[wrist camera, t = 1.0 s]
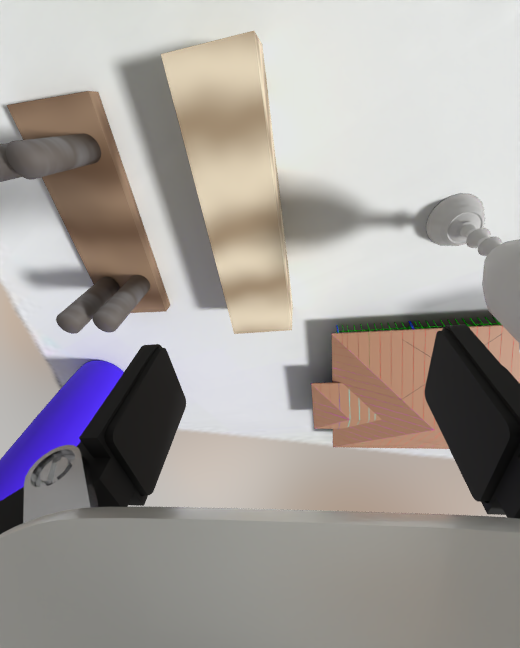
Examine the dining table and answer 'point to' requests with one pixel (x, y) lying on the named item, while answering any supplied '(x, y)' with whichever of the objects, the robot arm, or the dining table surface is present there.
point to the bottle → (58, 422)
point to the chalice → (500, 264)
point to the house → (391, 385)
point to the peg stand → (88, 205)
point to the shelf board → (235, 174)
